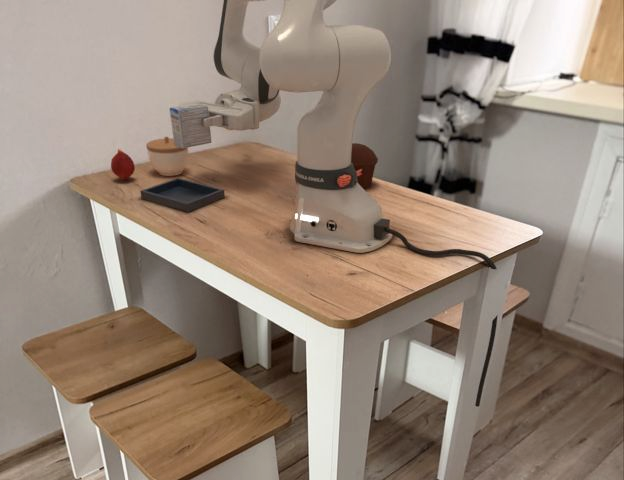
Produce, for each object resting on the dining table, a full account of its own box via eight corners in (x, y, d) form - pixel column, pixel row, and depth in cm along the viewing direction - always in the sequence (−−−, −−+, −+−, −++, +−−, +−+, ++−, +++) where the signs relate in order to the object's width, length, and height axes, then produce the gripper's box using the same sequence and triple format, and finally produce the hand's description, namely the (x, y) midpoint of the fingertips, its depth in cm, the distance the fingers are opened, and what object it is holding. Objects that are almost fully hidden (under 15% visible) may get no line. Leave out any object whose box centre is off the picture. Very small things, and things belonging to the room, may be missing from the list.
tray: (224, 197, 146) (224, 189, 145) (188, 212, 137) (187, 204, 136) (178, 185, 153) (177, 177, 152) (141, 198, 144) (140, 190, 143)
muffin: (385, 185, 155) (388, 146, 150) (355, 194, 149) (357, 154, 143) (352, 175, 162) (354, 137, 157) (323, 183, 156) (324, 144, 151)
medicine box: (202, 140, 146) (198, 102, 142) (212, 143, 143) (208, 105, 139) (173, 145, 142) (168, 107, 137) (183, 149, 139) (178, 109, 134)
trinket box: (198, 172, 163) (195, 136, 157) (166, 181, 156) (162, 144, 151) (174, 164, 168) (170, 129, 163) (142, 172, 162) (137, 137, 156)
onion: (139, 177, 158) (135, 146, 154) (132, 184, 153) (127, 152, 149) (118, 176, 159) (113, 145, 154) (110, 183, 154) (104, 151, 150)
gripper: (200, 92, 153) (160, 101, 143) (263, 102, 143) (224, 112, 134) (202, 118, 156) (163, 128, 146) (264, 129, 147) (226, 141, 137)
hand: (193, 121), depth 140 cm, fingers closed on medicine box, 5 cm apart
